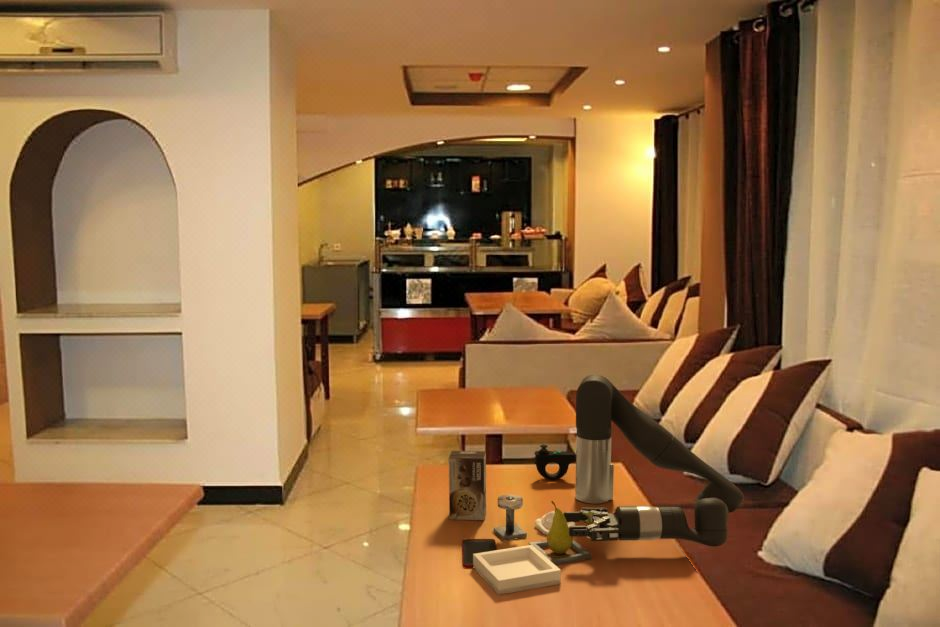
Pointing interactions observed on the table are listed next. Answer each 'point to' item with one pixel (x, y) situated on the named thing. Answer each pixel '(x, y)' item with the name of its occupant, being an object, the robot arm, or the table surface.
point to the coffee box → (467, 485)
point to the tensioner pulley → (510, 517)
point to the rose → (548, 522)
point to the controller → (553, 456)
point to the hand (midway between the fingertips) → (566, 523)
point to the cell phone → (475, 549)
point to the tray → (516, 569)
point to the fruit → (559, 533)
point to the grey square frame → (566, 558)
